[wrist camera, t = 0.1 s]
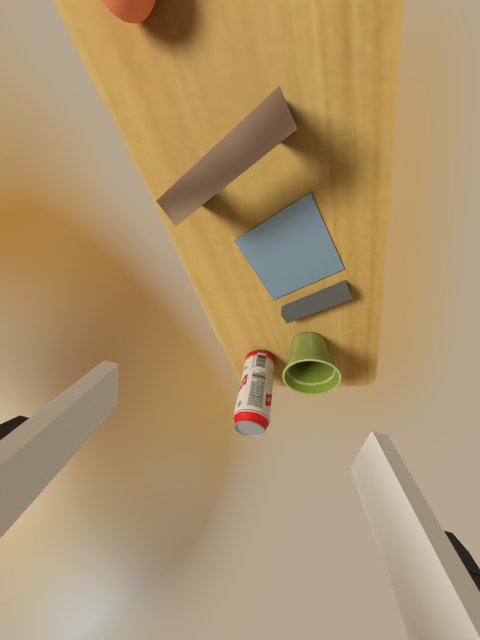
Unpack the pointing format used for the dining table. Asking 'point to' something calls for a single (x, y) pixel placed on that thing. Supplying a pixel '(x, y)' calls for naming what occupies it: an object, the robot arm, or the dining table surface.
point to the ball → (130, 9)
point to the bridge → (230, 157)
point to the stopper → (317, 302)
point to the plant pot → (310, 366)
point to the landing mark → (291, 249)
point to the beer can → (255, 394)
